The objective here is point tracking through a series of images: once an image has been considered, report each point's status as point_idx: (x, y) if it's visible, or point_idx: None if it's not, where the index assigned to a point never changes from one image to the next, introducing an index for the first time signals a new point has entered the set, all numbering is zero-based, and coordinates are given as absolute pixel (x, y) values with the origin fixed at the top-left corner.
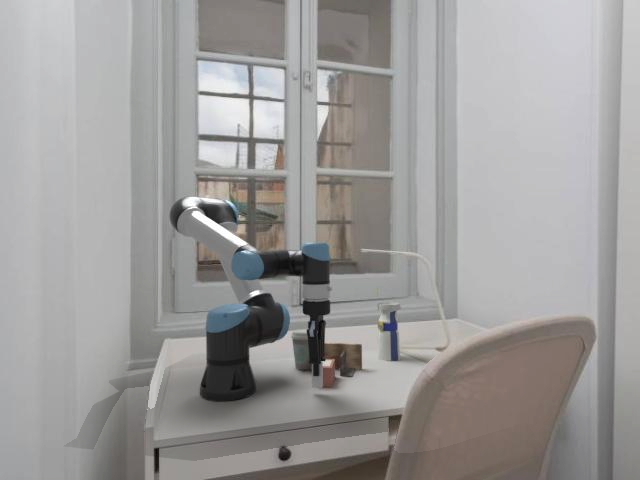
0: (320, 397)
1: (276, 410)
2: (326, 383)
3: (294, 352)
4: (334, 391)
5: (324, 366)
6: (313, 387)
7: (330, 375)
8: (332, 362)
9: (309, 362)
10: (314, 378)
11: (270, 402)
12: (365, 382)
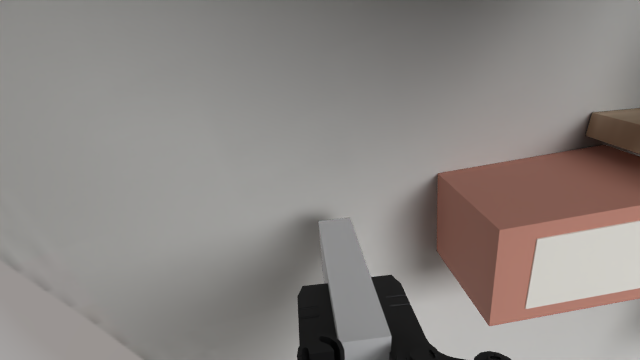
0: (291, 246)
1: (24, 102)
2: (444, 238)
3: None
4: (380, 275)
5: (523, 282)
6: (319, 228)
7: (465, 285)
8: (610, 298)
9: (300, 355)
10: (325, 267)
11: (111, 10)
12: (501, 344)
